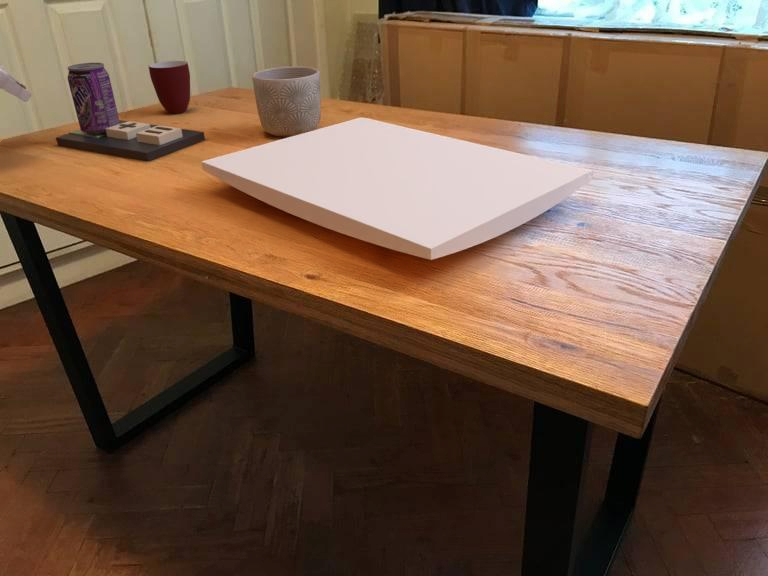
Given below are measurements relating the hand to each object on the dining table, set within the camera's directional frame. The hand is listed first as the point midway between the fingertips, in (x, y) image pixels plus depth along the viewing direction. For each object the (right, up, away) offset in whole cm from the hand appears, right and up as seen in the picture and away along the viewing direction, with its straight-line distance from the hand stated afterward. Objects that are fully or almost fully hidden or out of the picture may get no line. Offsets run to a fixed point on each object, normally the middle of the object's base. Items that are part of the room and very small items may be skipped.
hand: (26, 94), depth 117 cm
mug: (+18, +4, +28) cm, 33 cm away
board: (+64, -22, -23) cm, 72 cm away
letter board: (+16, -7, +6) cm, 19 cm away
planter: (+46, -5, +9) cm, 47 cm away
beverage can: (+10, -5, +8) cm, 14 cm away
